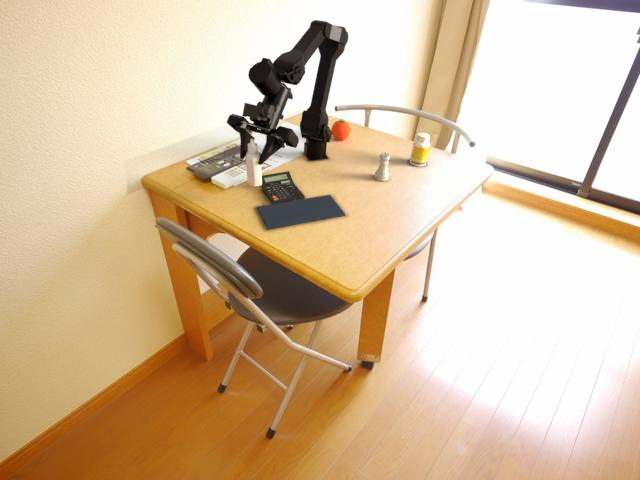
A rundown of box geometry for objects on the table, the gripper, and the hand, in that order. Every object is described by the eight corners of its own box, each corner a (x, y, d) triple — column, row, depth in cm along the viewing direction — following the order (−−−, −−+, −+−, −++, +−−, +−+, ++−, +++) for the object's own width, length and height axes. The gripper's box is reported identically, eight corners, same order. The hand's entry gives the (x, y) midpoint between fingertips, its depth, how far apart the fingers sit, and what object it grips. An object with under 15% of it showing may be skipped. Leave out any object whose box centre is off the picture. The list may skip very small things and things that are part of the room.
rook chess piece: (390, 177, 126) (394, 153, 121) (386, 183, 122) (390, 158, 118) (376, 173, 127) (380, 149, 122) (372, 179, 124) (375, 155, 119)
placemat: (329, 196, 115) (329, 194, 114) (345, 215, 107) (345, 214, 107) (257, 207, 108) (257, 206, 107) (268, 229, 100) (268, 228, 100)
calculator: (272, 204, 109) (272, 195, 107) (258, 184, 117) (258, 175, 116) (304, 198, 113) (304, 189, 111) (288, 179, 121) (288, 170, 119)
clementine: (332, 133, 151) (334, 114, 147) (351, 136, 150) (353, 117, 146) (328, 141, 145) (330, 122, 140) (348, 144, 144) (350, 125, 140)
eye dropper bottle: (264, 177, 109) (262, 135, 102) (261, 188, 105) (258, 144, 98) (248, 176, 109) (245, 134, 102) (244, 186, 105) (240, 143, 98)
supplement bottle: (428, 166, 133) (434, 138, 127) (412, 166, 132) (418, 138, 126) (422, 159, 137) (428, 131, 131) (407, 159, 136) (412, 131, 131)
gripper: (227, 81, 99) (203, 139, 98) (293, 96, 93) (268, 158, 91) (248, 104, 109) (226, 157, 108) (308, 118, 103) (286, 175, 102)
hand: (250, 161), depth 102 cm, fingers closed on eye dropper bottle, 5 cm apart
